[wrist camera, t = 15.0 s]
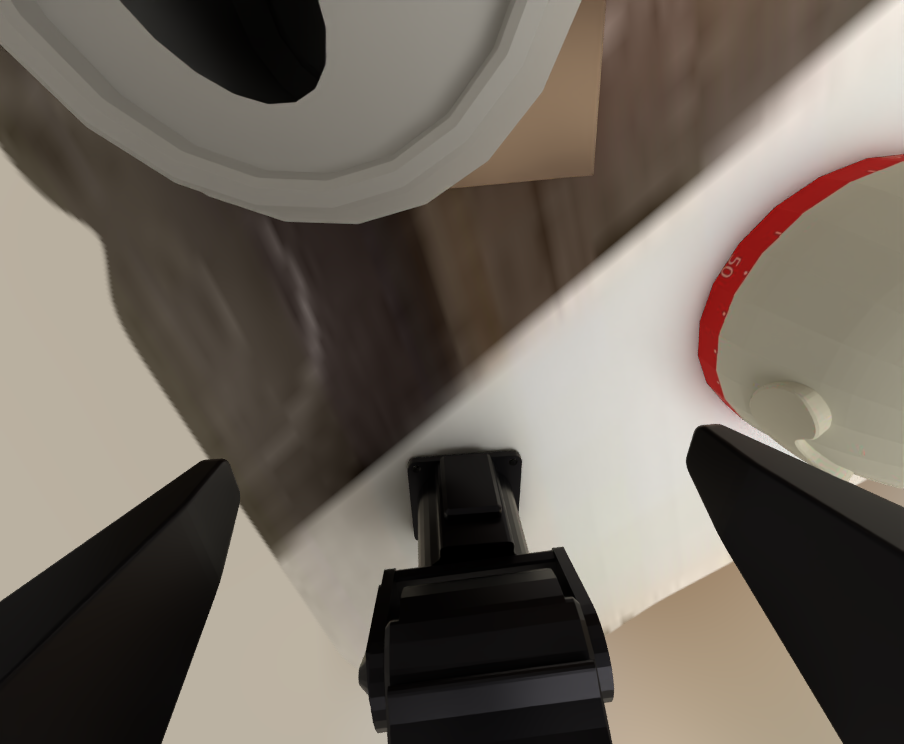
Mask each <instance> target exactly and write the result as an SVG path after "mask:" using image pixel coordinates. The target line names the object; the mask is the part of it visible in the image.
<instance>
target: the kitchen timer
mask: <svg viewBox="0 0 904 744" xmlns="http://www.w3.org/2000/svg"><path fill="white" fill-rule="evenodd" d="M698 357H699V360H700V363H701V366H702V370H703V373H704V376H705V379H706V382H707V384H708V385H709V386H710V387H711V388H712V389H713V391H714V392H715V393H716V394H717V395H718V396H719V397H720V399H721V400H722V401H723V402H724V403H725V404H726V405H727V406H728V407H729V408H731V409H732V410H733V411H734V412H735V413H736V414H737V415H738V416H739V417H740V418H742V419H743V420H744V421H746V422H747V423H748V424H750V425H751V426H753V427H754V428H756V429H758V430H759V431H761V432H763V433H765V434H767V435H769V436H770V437H771V438H772V439H773V440H775V441H776V442H777V443H778V444H780V445H781V446H783V447H784V448H785V449H787V450H788V451H790V452H791V453H793V454H794V455H796V456H797V457H799V458H800V459H802V460H803V461H805V462H807V463H808V464H810V465H812V466H814V467H816V468H818V469H820V470H823V471H825V472H827V473H829V474H831V475H834V476H836V477H838V478H840V479H842V480H845V481H847V482H848V481H849V480H850V478H851V477H852V475H853V474H855V475H858V476H861V477H864V478H866V479H869V480H872V481H876V482H879V483H882V484H886V485H889V486H893V487H898V488H902V489H904V154H903V155H894V156H885V157H876V158H867V159H864V160H862V161H859V162H857V163H854V164H852V165H849V166H847V167H844V168H842V169H839V170H836V171H834V172H831V173H829V174H826V175H824V176H821V177H819V178H818V179H816V180H815V181H813V182H812V183H810V184H809V185H807V186H806V187H804V188H803V189H801V190H800V191H798V192H797V193H795V194H794V195H792V196H791V197H790V198H788V199H787V200H785V201H784V202H782V203H781V204H779V205H778V206H776V207H775V208H774V209H773V210H772V211H771V212H770V213H769V214H768V215H767V216H766V217H765V218H764V219H763V220H762V221H761V222H760V223H759V224H758V225H757V226H756V227H755V228H754V229H753V230H752V231H751V232H750V233H749V234H748V235H747V236H746V237H745V238H744V239H743V240H742V241H741V242H740V243H739V245H738V246H737V248H736V249H735V251H734V252H733V254H732V255H731V257H730V259H729V260H728V262H727V263H726V265H725V266H724V268H723V269H722V271H721V272H720V274H719V276H718V277H717V279H716V280H715V282H714V283H713V286H712V289H711V291H710V294H709V297H708V300H707V303H706V306H705V308H704V311H703V314H702V317H701V320H700V327H699V346H698Z"/></svg>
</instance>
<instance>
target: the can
mask: <svg viewBox="0 0 904 744" xmlns="http://www.w3.org/2000/svg"><path fill="white" fill-rule="evenodd" d="M581 1H582V0H0V45H1V46H3V47H4V48H5V49H6V50H7V51H8V52H9V53H10V54H11V55H12V56H13V57H14V58H15V59H16V60H17V61H18V62H19V63H20V64H21V65H22V66H23V67H24V68H25V69H26V70H28V71H29V72H30V73H31V74H32V75H33V76H34V77H35V78H36V79H37V80H38V81H39V82H40V83H41V84H42V85H43V86H44V87H45V88H46V89H47V90H48V91H49V92H50V93H51V94H53V95H54V96H55V97H56V98H57V99H58V100H59V101H60V102H61V103H62V104H63V105H64V106H65V107H66V108H67V109H68V110H69V111H70V112H71V113H72V114H73V115H74V116H75V117H76V118H78V119H79V120H80V121H81V122H82V123H83V124H84V125H85V126H86V127H87V128H89V129H90V130H92V131H94V132H95V133H97V134H98V135H100V136H101V137H103V138H105V139H106V140H108V141H109V142H111V143H113V144H114V145H116V146H117V147H119V148H121V149H122V150H124V151H125V152H127V153H128V154H130V155H132V156H133V157H135V158H136V159H138V160H140V161H141V162H143V163H144V164H146V165H148V166H149V167H151V168H152V169H154V170H155V171H157V172H159V173H160V174H162V175H163V176H165V177H167V178H168V179H170V180H171V181H173V182H175V183H177V184H180V185H183V186H186V187H189V188H192V189H195V190H198V191H201V192H202V193H204V194H205V195H207V196H210V197H213V198H216V199H219V200H222V201H225V202H228V203H231V204H234V205H237V206H240V207H243V208H246V209H249V210H252V211H255V212H258V213H261V214H264V215H267V216H270V217H273V218H276V219H279V220H282V221H285V222H312V223H342V224H360V223H363V222H367V221H370V220H374V219H377V218H380V217H384V216H387V215H391V214H394V213H397V212H401V211H404V210H408V209H411V208H414V207H418V206H421V205H425V204H427V203H428V202H430V201H431V200H433V199H434V198H436V197H437V196H438V195H440V194H441V193H443V192H444V191H446V190H447V189H448V188H450V187H451V186H453V185H454V184H456V183H457V182H458V181H460V180H461V179H463V178H464V177H466V176H467V175H469V174H470V173H471V172H473V171H474V170H476V169H477V168H479V167H480V166H481V165H483V164H484V163H486V162H487V161H488V160H489V159H490V158H491V157H492V155H493V154H494V153H495V151H496V150H497V149H498V148H499V146H500V145H501V144H502V143H503V141H504V140H505V139H506V137H507V136H508V135H509V134H510V132H511V131H512V130H513V128H514V127H515V126H516V125H517V123H518V122H519V121H520V120H521V118H522V117H523V116H524V114H525V113H526V112H527V111H528V109H529V108H530V107H531V106H532V104H533V103H534V102H535V100H536V99H537V98H538V97H539V95H540V94H541V93H542V92H543V89H544V87H545V85H546V82H547V80H548V78H549V75H550V73H551V71H552V68H553V66H554V64H555V61H556V59H557V57H558V54H559V52H560V50H561V47H562V45H563V43H564V40H565V38H566V36H567V33H568V31H569V29H570V26H571V24H572V22H573V19H574V17H575V15H576V12H577V10H578V8H579V5H580V3H581Z"/></svg>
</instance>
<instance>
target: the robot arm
mask: <svg viewBox="0 0 904 744" xmlns="http://www.w3.org/2000/svg"><path fill="white" fill-rule="evenodd" d="M511 459H515V460H514V461H510V460H511ZM686 465H687V469H688V472H689V474H690V476H691V478H692V480H693V482H694V484H695V486H696V489H697V491H698V493H699V495H700V497H701V499H702V501H703V503H704V506H705V508H706V510H707V512H708V514H709V516H710V518H711V520H712V523H713V525H714V527H715V529H716V531H717V533H718V535H719V537H720V539H721V540H722V542H723V544H724V546H725V547H726V549H727V551H728V553H729V554H730V556H731V558H732V559H733V561H734V563H735V564H736V566H737V568H738V569H739V571H740V573H741V574H742V576H743V578H744V579H745V581H746V583H747V584H748V586H749V587H750V589H751V591H752V593H753V594H754V596H755V598H756V599H757V601H758V603H759V604H760V606H761V608H762V609H763V611H764V613H765V614H766V616H767V618H768V619H769V621H770V623H771V624H772V626H773V628H774V629H775V631H776V632H777V634H778V636H779V638H780V639H781V641H782V643H783V644H784V646H785V647H786V649H787V651H788V653H789V654H790V656H791V658H792V659H793V661H794V663H795V664H796V666H797V667H798V669H799V671H800V673H801V674H802V676H803V677H804V679H805V681H806V683H807V684H808V686H809V688H810V689H811V691H812V693H813V694H814V696H815V698H816V699H817V701H818V703H819V704H820V706H821V708H822V709H823V711H824V713H825V714H826V716H827V718H828V719H829V721H830V722H831V724H832V726H833V728H834V729H835V731H836V732H837V734H838V736H839V738H840V739H841V741H842V742H843V744H904V507H902V506H900V505H898V504H895V503H893V502H891V501H888V500H887V499H884V498H882V497H880V496H878V495H875V494H873V493H871V492H869V491H867V490H864V489H862V488H860V487H858V486H856V485H854V484H851V483H849V482H847V481H845V480H842V479H840V478H838V477H836V476H834V475H831V474H829V473H827V472H825V471H823V470H820V469H818V468H816V467H814V466H812V465H809V464H807V463H805V462H803V461H801V460H798V459H796V458H794V457H792V456H790V455H787V454H785V453H783V452H781V451H779V450H776V449H774V448H772V447H770V446H768V445H765V444H763V443H761V442H759V441H757V440H754V439H752V438H750V437H748V436H745V435H743V434H741V433H739V432H737V431H734V430H732V429H730V428H728V427H726V426H723V425H720V424H710V425H700V426H698V427H697V428H696V429H695V431H694V434H693V437H692V440H691V444H690V447H689V450H688V453H687V457H686ZM414 466H419V467H418V468H415V467H414ZM521 468H522V460H521V456H520V454H519V453H518V452H516V451H502V452H488V453H474V454H459V455H445V456H431V457H416V458H412V459H411V460H409V462H408V479H409V489H410V498H411V508H412V518H413V527H414V537H415V539H416V540H418V568H410V569H403V570H396V568H394V569H387V570H384V574H383V579H382V584H381V585H379V588H378V593H377V598H376V603H375V608H374V613H373V618H372V623H371V628H370V633H369V638H368V643H367V648H366V652H365V655H364V658H363V660H362V663H361V665H360V668H359V685H360V686H361V687H362V689H363V690H364V691H365V692H366V693H367V694H368V695H369V702H370V706H371V713H372V719H373V723H374V726H375V730H376V731H377V733H382V732H387V737H388V744H612V740H611V735H610V730H609V725H608V720H607V715H606V710H605V705H604V703H606V702H612V700H613V697H614V683H613V674H612V667H611V662H610V657H609V652H608V648H607V644H606V640H605V637H604V633H603V630H602V627H601V624H600V621H599V618H598V615H597V613H596V611H595V608H594V606H593V604H592V602H591V600H590V598H589V596H588V594H587V592H586V590H585V588H584V586H583V584H582V582H581V580H580V578H579V577H578V575H577V573H576V571H575V569H574V567H573V565H572V563H571V561H570V559H569V557H568V555H567V553H566V551H565V549H564V547H557V548H552V550H550V551H542V552H534V553H529V551H528V548H527V544H526V540H525V536H524V532H523V529H522V525H521V521H520V517H519V514H518V513H519V498H520V483H521ZM239 503H240V491H239V488H238V485H237V483H236V480H235V477H234V474H233V472H232V469H231V466H230V464H229V462H228V461H227V460H225V459H210V460H203V461H200V462H199V463H197V464H196V465H194V466H193V467H192V468H190V469H189V470H187V471H186V472H184V473H183V474H182V475H180V476H179V477H177V478H176V479H175V480H173V481H172V482H170V483H169V484H167V485H166V486H165V487H163V488H162V489H160V490H159V491H157V492H156V493H155V494H153V495H152V496H150V497H149V498H147V499H146V500H145V501H143V502H142V503H141V504H139V505H138V506H136V507H135V508H133V509H132V510H130V511H129V512H127V513H126V514H125V515H123V516H122V517H120V518H119V519H118V520H116V521H115V522H113V523H112V524H110V525H109V526H107V527H106V528H105V529H103V530H102V531H100V532H99V533H97V534H96V535H95V536H93V537H92V538H90V539H89V540H87V541H86V542H85V543H83V544H82V545H80V546H79V547H77V548H76V549H74V550H73V551H72V552H70V553H69V554H67V555H66V556H64V557H63V558H62V559H60V560H59V561H57V562H56V563H55V564H53V565H52V566H50V567H49V568H47V569H46V570H45V571H43V572H42V573H40V574H39V575H38V576H36V577H35V578H33V579H32V580H30V581H29V582H27V583H26V584H24V585H23V586H22V587H20V588H19V589H17V590H16V591H15V592H13V593H12V594H10V595H9V596H7V597H6V598H4V599H3V600H2V601H1V602H0V744H162V741H163V738H164V735H165V732H166V730H167V727H168V724H169V721H170V719H171V716H172V713H173V711H174V708H175V705H176V702H177V700H178V697H179V694H180V691H181V689H182V686H183V683H184V680H185V678H186V675H187V672H188V669H189V666H190V664H191V661H192V658H193V656H194V653H195V650H196V647H197V644H198V642H199V639H200V636H201V634H202V631H203V628H204V625H205V623H206V620H207V617H208V614H209V611H210V609H211V606H212V603H213V600H214V598H215V595H216V592H217V589H218V586H219V583H220V580H221V576H222V573H223V569H224V565H225V561H226V557H227V553H228V549H229V545H230V540H231V537H232V532H233V528H234V524H235V520H236V516H237V512H238V508H239Z"/></svg>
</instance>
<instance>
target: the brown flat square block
mask: <svg viewBox="0 0 904 744" xmlns="http://www.w3.org/2000/svg"><path fill="white" fill-rule="evenodd" d="M605 10H606V0H582V1H581V3H580V5H579V8H578V10H577V12H576V15H575V17H574V19H573V22H572V24H571V26H570V29H569V31H568V33H567V36H566V38H565V40H564V43H563V45H562V47H561V50H560V52H559V54H558V57H557V59H556V61H555V64H554V66H553V68H552V71H551V73H550V75H549V78H548V80H547V82H546V85H545V87H544V89H543V92H542V93H541V94H540V95H539V97H538V98H537V99H536V100H535V102H534V103H533V104H532V106H531V107H530V108H529V109H528V111H527V112H526V113H525V114H524V116H523V117H522V118H521V120H520V121H519V122H518V123H517V125H516V126H515V127H514V128H513V130H512V131H511V132H510V134H509V135H508V136H507V137H506V139H505V140H504V141H503V143H502V144H501V145H500V146H499V148H498V149H497V150H496V151H495V153H494V154H493V155H492V157H491V158H490V159H489V160H488V161H487V162H486V163H484V164H483V165H481V166H480V167H479V168H477V169H476V170H474V171H473V172H471V173H470V174H469V175H467V176H466V177H464V178H463V179H461V180H460V181H458V182H457V183H456V184H454V185H453V186H451V187H450V188H461V187H472V186H482V185H493V184H503V183H514V182H525V181H535V180H546V179H556V178H567V177H578V176H588V175H593V173H594V159H595V146H596V132H597V118H598V105H599V91H600V78H601V64H602V51H603V37H604V23H605ZM450 188H448V189H450Z"/></svg>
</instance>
